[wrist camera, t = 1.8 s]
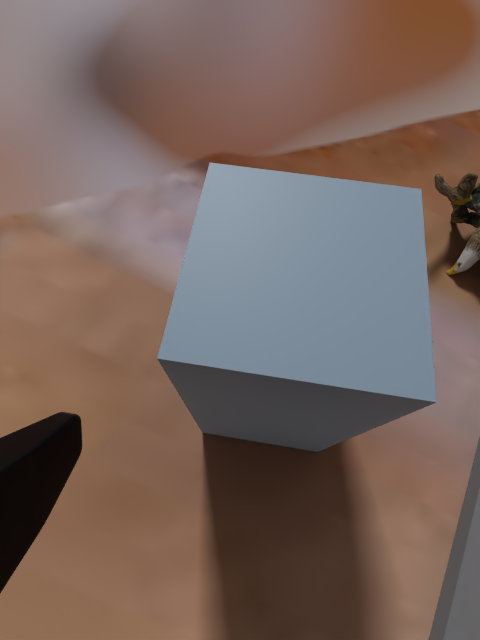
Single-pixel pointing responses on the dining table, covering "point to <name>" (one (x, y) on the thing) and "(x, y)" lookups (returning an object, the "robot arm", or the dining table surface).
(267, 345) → the slate blue brick
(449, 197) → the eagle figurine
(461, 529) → the tower base
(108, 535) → the dining table surface
